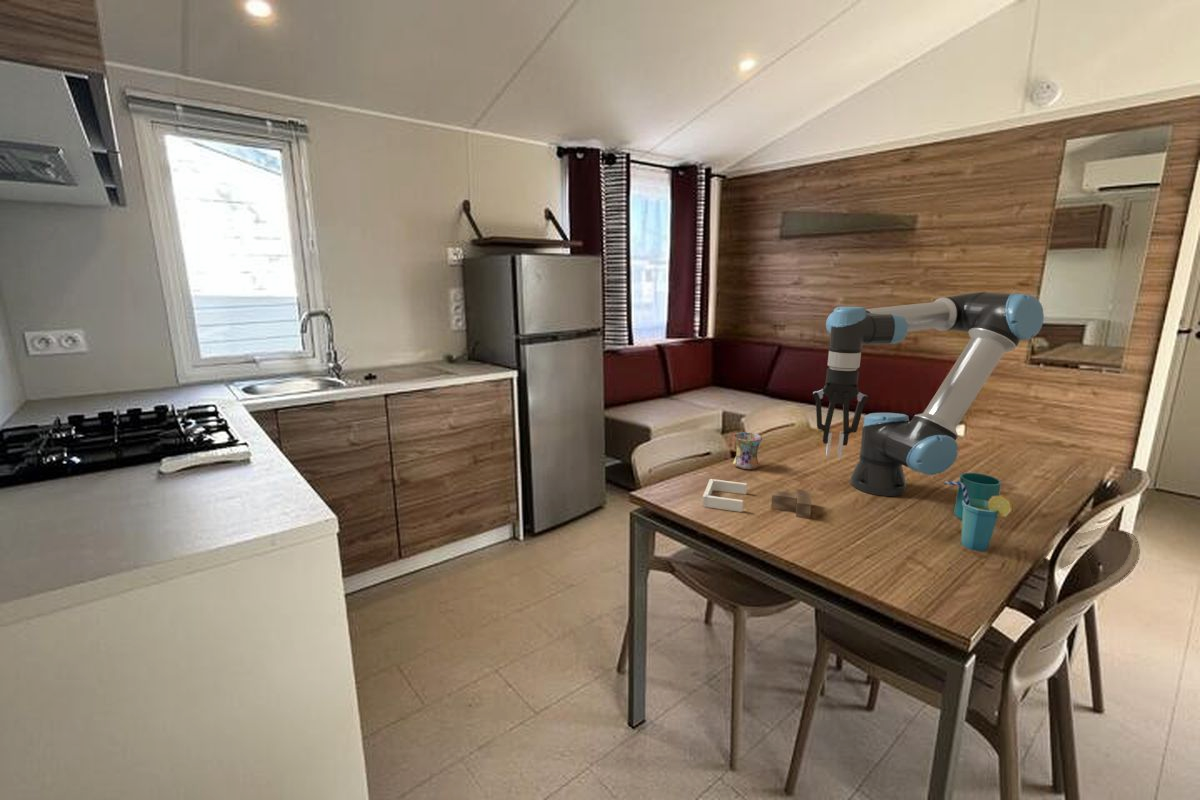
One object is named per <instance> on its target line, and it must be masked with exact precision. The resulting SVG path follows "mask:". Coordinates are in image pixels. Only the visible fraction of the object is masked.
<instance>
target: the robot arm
mask: <svg viewBox="0 0 1200 800" xmlns="http://www.w3.org/2000/svg"><path fill="white" fill-rule="evenodd" d="M1044 317H1045V314H1044V308H1043V305H1042V303H1041V302H1040V300H1039V299H1038V298H1037V297H1036V296H1033V295H1031V294H1024V293H1021V292H1020V293H1019V292H1014V293H1009V292H1008V293H1007V292H1006V293H1004V292H988V291H987V292H985V291H976V292H970V293H963V294H959V295H952V296H945V297H940V298H939V297H938V298H937V299H935V300H934V301H931V302H921V303H913V304H904V305H895V306H894V305H893V306H884V307H876V308H874V307H873V308H865V307H862V306H842V305H841V306H837V307H835V308H834V309H833V312H831V313H830V314H829V315H828V317H827V319H826V322H825V327H826V328H825V329H826V331H827V332H828V334H830V336H829V349H828V356H827V366H828V367H827V368H826V375H825V376H826V377H825V384H824V385H823V387H822V388H821V389H820V390H813V392H812V395H813V399H814V400H815V409H816V410H815V413H816V428H817V429H818V430H821V431H822V433H823V435H822V443H823V444H825V445H826V450H825V451H826V452H825V457H827V458H830V456H831V455H830V454H831V446H832V436H833V431H832V430H830V429H831V425H832V420H833V416H834V412H835V407H836V405H839V404H840V405H842V425H843V426H842V431H839V436H838V446H837V458H838V459H842V455H843V454H842V452H843V447H844V446H848V442H849V436H850V434H851V433H856V432H857V431H858V428H859V424H860V421H861V417H862V413H863V411H864V406H865V405H866V403H867V402H868V400H869V397H868V395H867V394H865V393H862V392H860V390H859V388H858V386H859V385H858V382H859V374H860V371H859V370H858V369H859V368H860V367H861V365H860V364H861V358H862V357H861V356H862V350H863V349H862V348H863V345H892V344H899V343H901V342H902V341H903V340H905V338H906V337H907V334H908V332H914V331H915V332H916V331H923V330H931V329H935V330H937V331H940V332H945V331H956V332H957V331H958V332H962V333H963V332H964V333H968V335H969V338H970V339H969V341H968V342H967V344H966V346H965V347H964V348H963V350H962V352H961V353H960V354H959V357H958V358H957V360H956V361H955V362H954V365H952V367H951V369H950V371H949V372H948V373H947V375H946V377H945V378H944V379H943V381H942V383H941V385H940V386H939V388H938V389H937V391H936V393H935V394H934V396H933V397H932V399H931V400H930V401H929V404H928V405H927V406H926V408H925V409H924V410H923V412H922V413H918V414H915V415H914V416H913V417H912V418H911V420H910V419H909V418H910V417H909V415H907V414H904V413H899V412H898V413H895V412H872V413H868V414H867V415H866V416H865V417H864V421H863V425H862V430H861V431H862V432H861V441H860V453H859V460H858V461H857V463H856V464H855V465H856V466H855V467H854V469H853V471H852V472H851V474H850V475H851V476H850V482H849V483H850V485H851V486H852V487H853V488H854V489H856V490H859V491H860V492H864V493H865V494H866V493H867V494H870V495H876V496H882V497H883V496H884V497H897V496H902V495H904V494H905V493H906V490H907V482H906V477H905V472H904V469H903V466H904V467H905V468H906V467H907V468H909V469H911V470H912V471H914V472H917V473H921V474H924V475H927V476H934V475H937V474H941V473H943V472H945V471H947V470H949V469H950V468H951V466H952V465H953V464H955V461H956V459H957V457H958V455H959V452H958V451H959V445H958V443H957V441H956V440H957V439H958V436H959V434H958V431H957V429H956V428H957V426H958V425H959V424H960V422H961V421H962V419H963V418H964V416H965V415H966V413H967V412H968V410H969V408H970V407H971V405H972V404H973V402H974V401H975V399H976V398H977V396H978V395H979V393H980V391H981V390H982V388H983V386H984V385H985V383H986V382H987V381H988V379H989V377H991V375H992V373H993V371H994V370H995V369H996V367H997V365H998V363H999V362H1000V361H1001V359H1002V357H1003V356H1004V354H1005V353H1008V352H1012V351H1014V350H1015V349H1016V348H1017V347H1018V345H1019V343H1020V342H1021V341H1026V340H1030V339H1031V338H1034V337H1036V336H1037V335H1038V334H1039V332H1040V331H1041V329H1042V327H1043V324H1044V320H1045V319H1044ZM824 395H825V396H826V398H827V400H828V401H829V403H828V404H829V405H828V409H827V413H826V416H825V421H824V424H823V418H822V417H823V415H822V414H823V413H822V399H823V398H824ZM855 398H856V400H857V405H856V408H855V412H854V415H853V418H852V423H851V426H850V403H851V402H852V401H853V400H854V399H855Z"/></svg>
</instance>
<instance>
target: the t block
mask: <svg viewBox="0 0 1200 800" xmlns="http://www.w3.org/2000/svg"><path fill="white" fill-rule="evenodd" d="M770 509H771V510H772V509H773V510H778V511H786V512H793V513H795V517H796V518H803V519H810V520H811V512H812V511H811V510H812V495H811V490H806V489H805V490H804V489H797V490H796V493H795V492H788V491H780V490H775V489H774V490H772V494H771V507H770Z"/></svg>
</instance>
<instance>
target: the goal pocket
mask: <svg viewBox="0 0 1200 800" xmlns="http://www.w3.org/2000/svg"><path fill="white" fill-rule="evenodd" d="M747 488H748V483H746V482H738V481H730V480H723V479H722V480H721V479H714V478H710V479H709V480H708V483H707V485H706V487H705V489H704V492H703V495H702V500H701V501H702V503H701V507H703V508H711V509H717V510H725V511H732V512H740V513H743V508H744V507H743V505H744V500H743V499H736V498H732V497H731V498H728V497H724V496H723V497H721V496H715V495H712V494H713V491H717V492H723V493H733V494H739V495H747Z"/></svg>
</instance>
